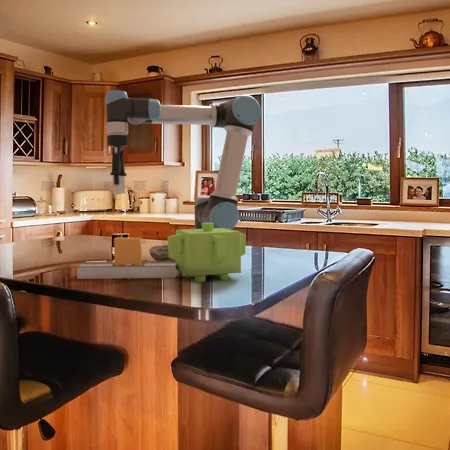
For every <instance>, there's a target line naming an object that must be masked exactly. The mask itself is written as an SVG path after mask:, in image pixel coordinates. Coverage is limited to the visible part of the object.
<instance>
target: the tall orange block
mask: <svg viewBox="0 0 450 450" xmlns="http://www.w3.org/2000/svg"><path fill="white" fill-rule="evenodd" d="M113 246H114V247H113V248H114V249H113V250H114V252H113V253H114V262H115V266H123V264H134V266H141V262H142V237H115V238H114V239H113Z"/></svg>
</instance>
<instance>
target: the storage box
mask: <svg viewBox="0 0 450 450" xmlns="http://www.w3.org/2000/svg"><path fill="white" fill-rule="evenodd" d="M201 225H202V228H203V229H195V228H188V229H186V228H185V229H176V230H175V234H171V235H168V236H167V245H168V257H169V258H171V259H174V260H176V271H177V270H178V271H179V272H181V273H183V274H185V276H184V277H186V278H194V277H195V278H194V280H193V282H194V283H204V282H206V279H207V277H206V276H218V278H219V280H221V281H229V280H232V278H231V276H230V275H229V274H238V273H239V274H240V273H242V256H244V255H245V254H246V242H247V241H246V238H247V235H246V233H243V232H241V231H239V230H234V229H231V230H230V229H225V228H213V226H214V223H201Z"/></svg>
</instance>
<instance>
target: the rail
mask: <svg viewBox="0 0 450 450" xmlns="http://www.w3.org/2000/svg"><path fill="white" fill-rule="evenodd" d="M76 275H77V276H76V277H77V278H76V279H78V280H81V279H82V280H83V279H84V280H86V279H88V280H91V279H96V280H97V279H99V280H100V279H101V280H102V279H107V280H110V279H176V277H177V269H176V262H158V261H141V266H134V264H123V266H115V261H111V262H110V261H105V262H104V261H101V262H99V261H95V262H93V261H91V262H89V261H87V262H83V261H82V263H81V264H80V265H77V266H76Z"/></svg>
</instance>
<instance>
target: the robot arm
mask: <svg viewBox="0 0 450 450" xmlns="http://www.w3.org/2000/svg"><path fill="white" fill-rule="evenodd" d="M105 112H106V113H105V114H106V125H105V126H104V128H105V129H106V133H107V136H106V142H107V143H106V144H107V145H106V146H108V147H112V148H111V150H112V151H111V155H112V156H111V163H112V164H111V171H110V173H109V174H110V176H112V194H113V195H122V194H126V181H125V180H126V179H125V178H126V177H127V173H126V171H125V168H126V167H125V151H124V149H123V147H128V146H129V136H128V134H129V123H130V124H132V125H135V126H136V125H138V126H139V125H141V124H142V125H151V124H152V125H197V126H201V125H203V126H204V125H206V126H207V125H208V126H209V127H211V128H218V129H219V128H220V129H224V130H225V132H226V134H225V140H224V145H223V149H222V154H221V158H220V159H221V160H220V163H219V164H220V165H219V169H218V172H217V173H218V174H217V177H216V182H215V187H214V191H213V192H212V193H210V194H209V196H208V197H204V198H203V197H202V198H197V199H196V200H195V201H194V207H193V208H194V229H203V228H202V225H201V223H214V226H213V228H225V229H230V230H234V228H235V227H236V226H237V224H238V222H239V220H240V212H239V209H238V204H239V199H238V197H237V196H236V195H237V190H238V185H239V181H240V176H241V172H242V167H243V160H244V157H245V152H246V148H247V142H248V138H249V137H250V136H251V135H253V133H254V128H255V124H257V123H258V122H259V120H260V118H261V115H262V109H261V105H260V104H259V102H258V100H257V99H256V98H255V97H253V96H252V95H248V94H247V95H246V94H245V95H239V96H237V97H235V98H233V99H230V100H228V101H225V102H221V103H211V104H209V105H180V104H178V105H177V104H173V105H172V104H161V102H160V100H158V99H153V98H140V97H139V98H138V97H137V98H136V97H128V93H127V92H126V91H124V90H110V91H107V92H106V96H105Z"/></svg>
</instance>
